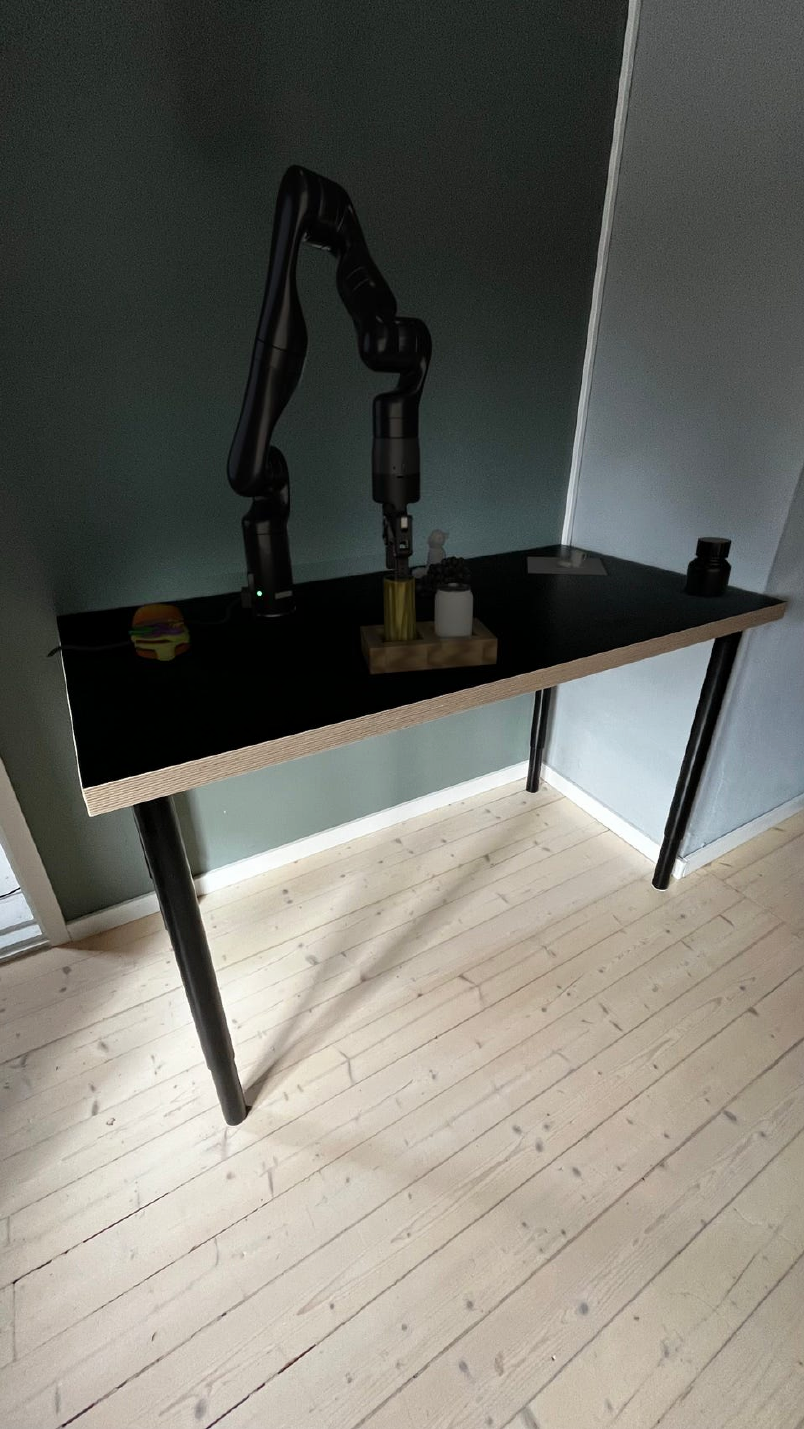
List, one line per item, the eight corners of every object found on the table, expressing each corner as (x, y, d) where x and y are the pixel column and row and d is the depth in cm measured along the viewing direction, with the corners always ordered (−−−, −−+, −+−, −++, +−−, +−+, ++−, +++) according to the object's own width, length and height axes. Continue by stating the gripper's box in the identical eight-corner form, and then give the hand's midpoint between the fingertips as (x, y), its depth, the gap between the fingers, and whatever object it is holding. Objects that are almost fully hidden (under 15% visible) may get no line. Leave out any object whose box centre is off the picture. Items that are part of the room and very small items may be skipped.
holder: (370, 674, 105) (369, 648, 103) (361, 650, 116) (360, 626, 114) (496, 663, 109) (497, 638, 107) (475, 641, 119) (476, 617, 117)
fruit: (418, 561, 139) (473, 551, 146) (399, 566, 146) (453, 557, 153) (426, 601, 141) (480, 589, 148) (407, 604, 148) (459, 593, 155)
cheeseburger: (135, 666, 109) (122, 608, 107) (135, 661, 119) (123, 607, 117) (196, 656, 113) (185, 599, 111) (191, 652, 123) (181, 599, 120)
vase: (406, 667, 108) (405, 583, 102) (376, 660, 111) (373, 578, 105) (424, 656, 112) (424, 575, 106) (395, 650, 115) (393, 571, 109)
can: (446, 663, 109) (447, 594, 104) (427, 651, 114) (427, 585, 109) (478, 656, 112) (481, 588, 107) (458, 645, 117) (460, 580, 112)
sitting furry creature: (436, 571, 170) (437, 524, 165) (460, 576, 164) (461, 528, 159) (410, 577, 164) (410, 529, 159) (434, 583, 159) (434, 533, 153)
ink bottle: (707, 586, 152) (717, 534, 147) (736, 595, 144) (747, 541, 139) (673, 590, 149) (682, 537, 144) (700, 600, 142) (711, 545, 136)
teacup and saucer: (557, 569, 169) (559, 554, 167) (556, 563, 176) (557, 548, 174) (592, 570, 168) (593, 555, 166) (589, 563, 175) (590, 548, 173)
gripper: (365, 465, 104) (368, 566, 111) (378, 474, 91) (380, 587, 98) (411, 464, 105) (410, 564, 112) (430, 473, 92) (428, 584, 99)
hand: (396, 574), depth 105 cm, fingers open, 8 cm apart
